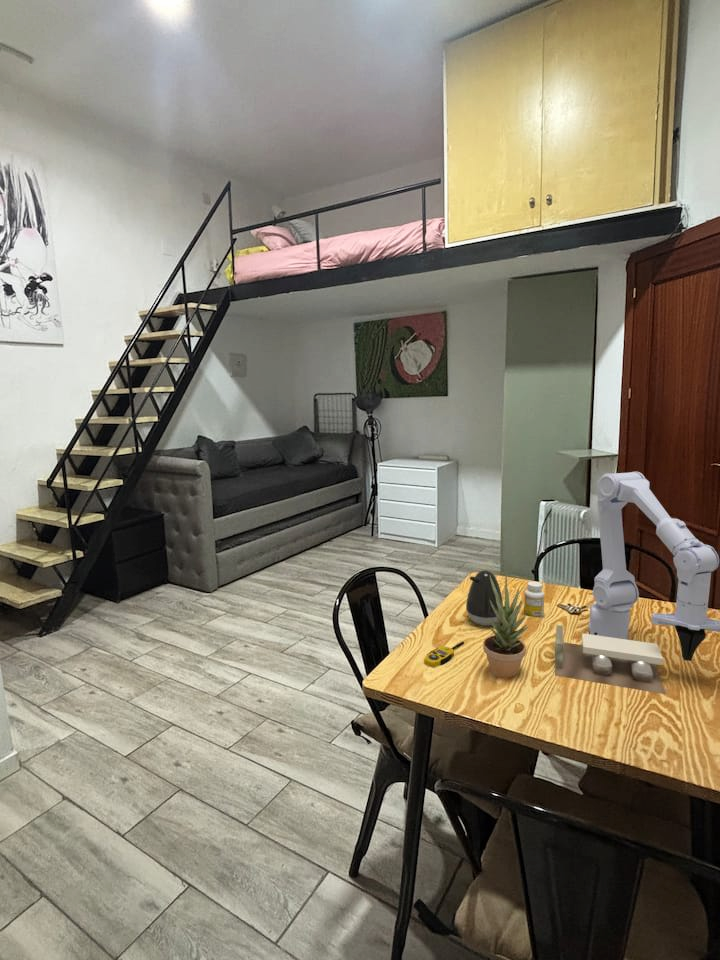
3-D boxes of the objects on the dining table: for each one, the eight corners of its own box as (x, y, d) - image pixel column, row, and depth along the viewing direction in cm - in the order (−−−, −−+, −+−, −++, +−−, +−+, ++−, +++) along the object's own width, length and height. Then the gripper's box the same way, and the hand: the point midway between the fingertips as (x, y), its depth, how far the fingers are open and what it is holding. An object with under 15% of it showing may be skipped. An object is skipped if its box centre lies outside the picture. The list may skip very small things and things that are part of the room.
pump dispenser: (458, 618, 148) (458, 568, 145) (486, 611, 152) (487, 562, 150) (481, 633, 139) (482, 579, 136) (510, 624, 143) (512, 573, 141)
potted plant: (474, 668, 121) (476, 568, 117) (506, 659, 125) (509, 562, 121) (501, 690, 112) (505, 583, 108) (535, 680, 116) (540, 576, 112)
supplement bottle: (529, 609, 153) (530, 578, 151) (546, 615, 149) (548, 583, 147) (520, 615, 149) (521, 583, 147) (537, 621, 145) (539, 588, 144)
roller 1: (592, 674, 116) (592, 657, 116) (590, 653, 125) (590, 637, 125) (612, 676, 115) (612, 660, 114) (608, 655, 124) (608, 639, 123)
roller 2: (632, 680, 113) (632, 663, 113) (626, 658, 123) (627, 643, 122) (652, 683, 112) (653, 666, 111) (645, 660, 121) (646, 645, 121)
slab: (583, 652, 118) (583, 646, 117) (581, 639, 124) (582, 633, 124) (662, 665, 112) (663, 658, 112) (656, 649, 119) (657, 643, 118)
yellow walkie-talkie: (420, 656, 124) (455, 634, 134) (420, 663, 124) (455, 641, 135) (436, 663, 121) (471, 641, 131) (436, 671, 121) (471, 648, 131)
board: (554, 679, 116) (556, 650, 115) (555, 644, 132) (556, 619, 131) (665, 698, 108) (668, 667, 107) (652, 659, 124) (654, 632, 123)
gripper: (657, 603, 110) (652, 661, 112) (738, 612, 105) (731, 673, 107) (651, 591, 116) (647, 646, 119) (727, 599, 111) (721, 657, 114)
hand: (686, 658), depth 113 cm, fingers closed
